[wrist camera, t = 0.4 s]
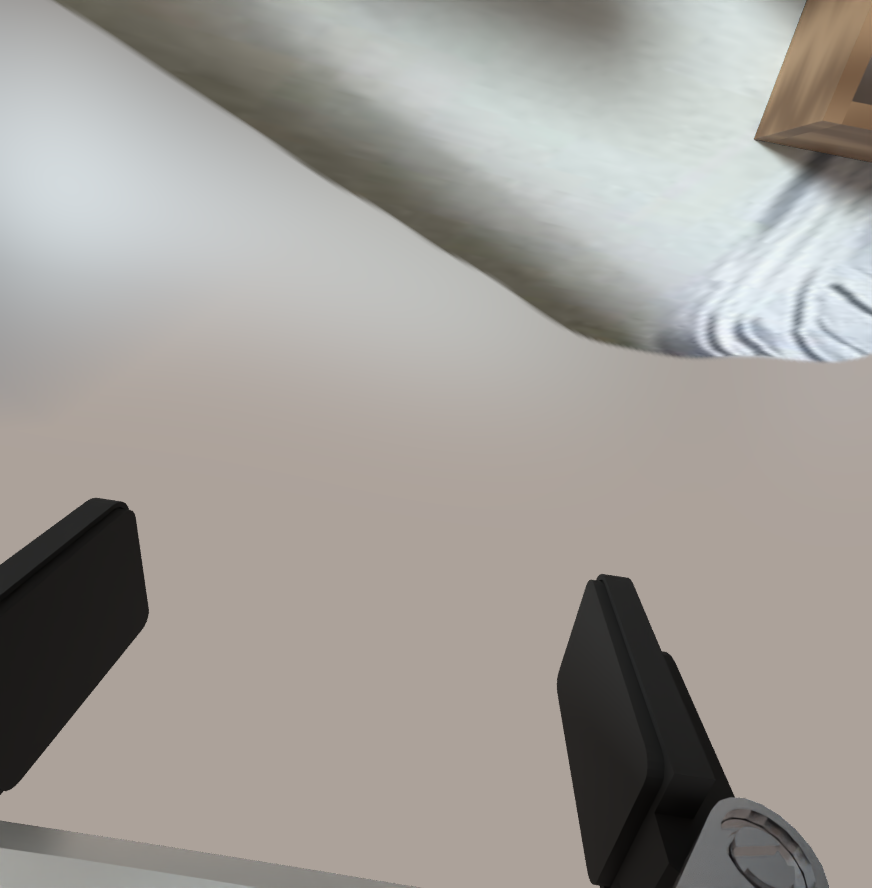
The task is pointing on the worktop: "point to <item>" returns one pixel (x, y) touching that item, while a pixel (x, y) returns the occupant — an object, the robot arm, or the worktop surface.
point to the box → (825, 83)
